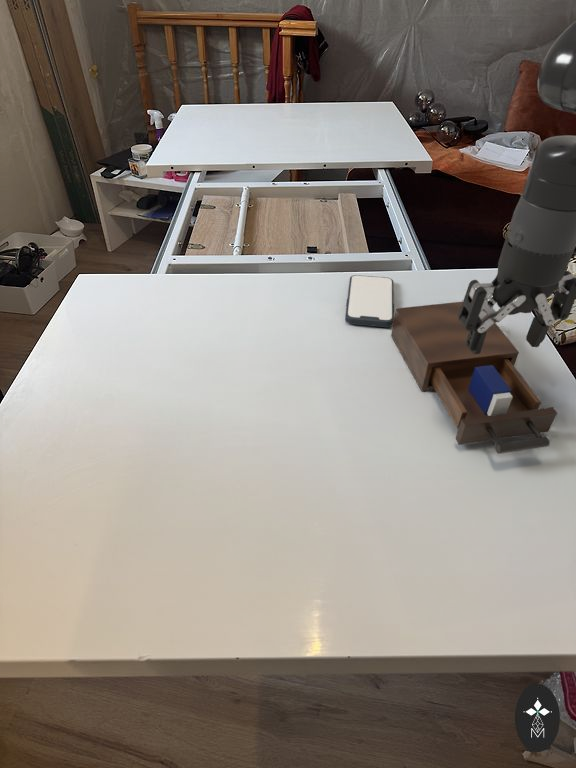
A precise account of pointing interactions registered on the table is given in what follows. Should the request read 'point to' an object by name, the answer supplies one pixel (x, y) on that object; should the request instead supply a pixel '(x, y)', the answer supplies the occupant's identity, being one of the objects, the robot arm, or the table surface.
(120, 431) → the table surface
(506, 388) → the eraser
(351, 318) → the phone case
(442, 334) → the cabinet
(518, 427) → the drawer
